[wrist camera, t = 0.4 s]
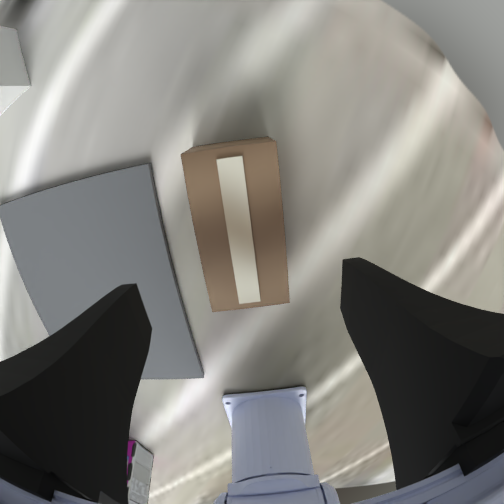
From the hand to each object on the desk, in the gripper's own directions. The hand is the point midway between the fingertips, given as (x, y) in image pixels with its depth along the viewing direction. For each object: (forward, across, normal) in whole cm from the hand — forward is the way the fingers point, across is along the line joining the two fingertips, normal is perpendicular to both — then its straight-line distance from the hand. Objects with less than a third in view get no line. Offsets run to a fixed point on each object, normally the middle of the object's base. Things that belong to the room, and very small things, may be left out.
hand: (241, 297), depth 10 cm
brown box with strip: (+10, 0, 0) cm, 10 cm away
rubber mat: (+9, +12, +5) cm, 16 cm away
